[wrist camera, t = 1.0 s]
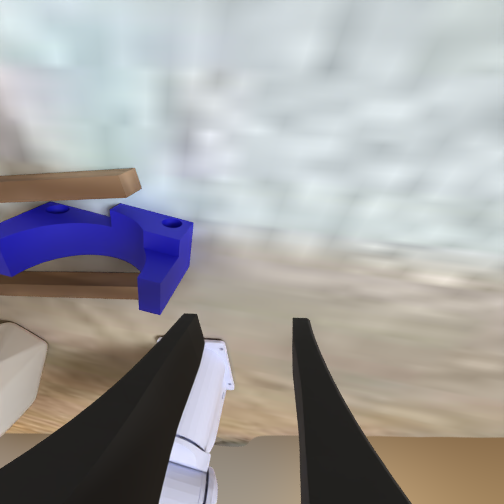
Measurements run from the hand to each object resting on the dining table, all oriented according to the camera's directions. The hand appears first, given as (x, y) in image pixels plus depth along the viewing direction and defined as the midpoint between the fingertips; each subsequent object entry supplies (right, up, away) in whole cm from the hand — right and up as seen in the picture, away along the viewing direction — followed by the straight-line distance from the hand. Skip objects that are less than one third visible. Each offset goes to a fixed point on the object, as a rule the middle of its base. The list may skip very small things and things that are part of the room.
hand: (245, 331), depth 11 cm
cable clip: (-11, +6, +10) cm, 16 cm away
